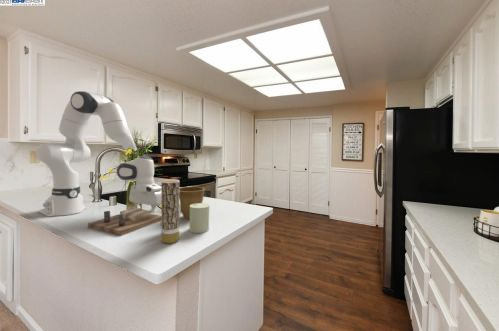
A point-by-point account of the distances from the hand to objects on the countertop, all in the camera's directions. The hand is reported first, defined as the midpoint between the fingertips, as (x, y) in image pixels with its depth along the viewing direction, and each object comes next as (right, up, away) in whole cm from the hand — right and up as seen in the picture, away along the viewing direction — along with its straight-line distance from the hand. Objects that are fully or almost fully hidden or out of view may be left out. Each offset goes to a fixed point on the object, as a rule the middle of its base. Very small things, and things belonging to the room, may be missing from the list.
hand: (145, 211), depth 119 cm
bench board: (-4, -4, -10) cm, 11 cm away
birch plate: (-2, -1, -6) cm, 6 cm away
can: (+33, -5, -15) cm, 36 cm away
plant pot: (+24, -4, +3) cm, 24 cm away
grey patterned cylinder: (+24, -6, -29) cm, 38 cm away
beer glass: (+21, -5, -19) cm, 29 cm away
